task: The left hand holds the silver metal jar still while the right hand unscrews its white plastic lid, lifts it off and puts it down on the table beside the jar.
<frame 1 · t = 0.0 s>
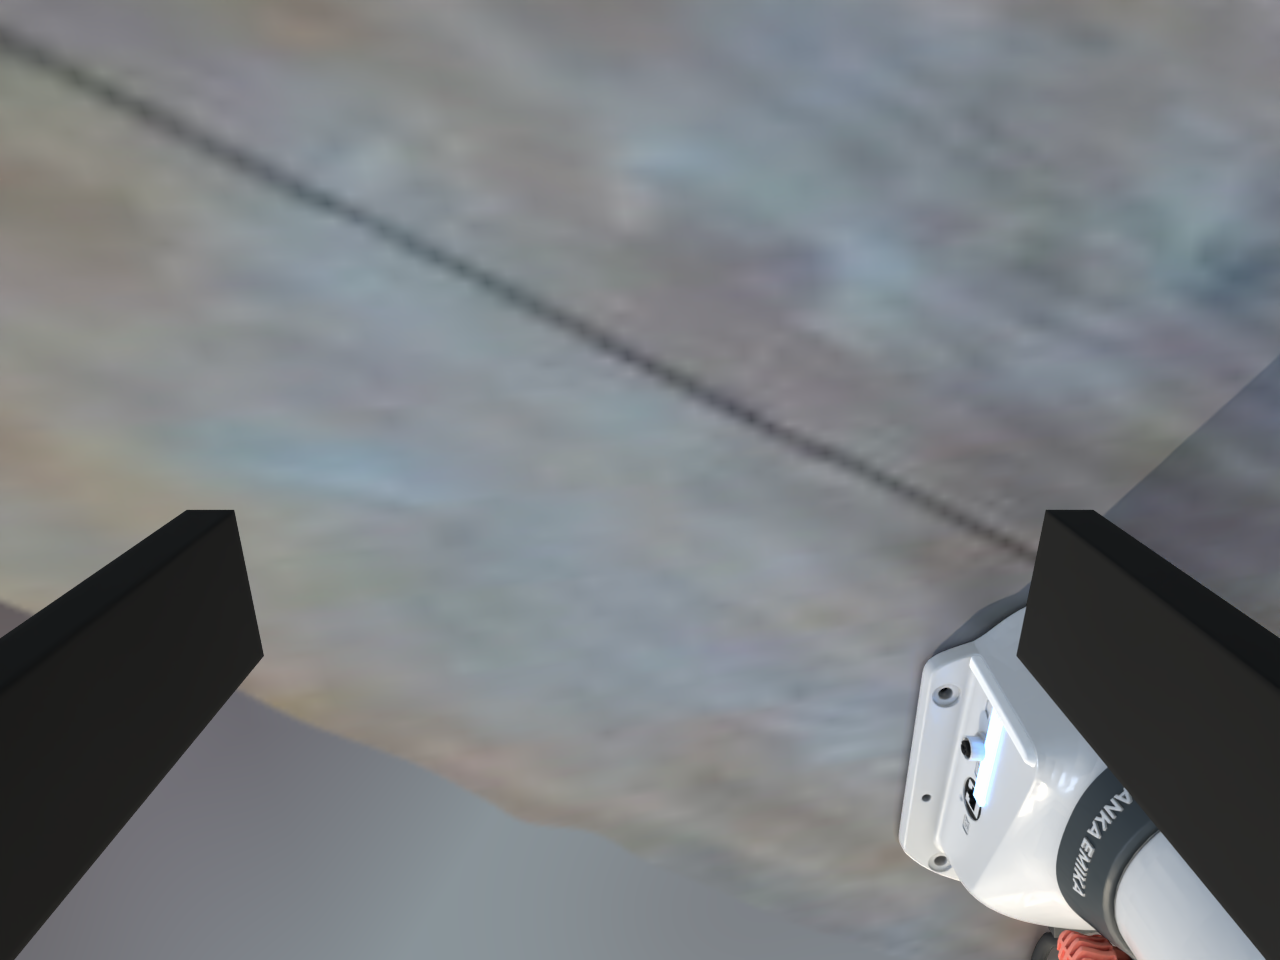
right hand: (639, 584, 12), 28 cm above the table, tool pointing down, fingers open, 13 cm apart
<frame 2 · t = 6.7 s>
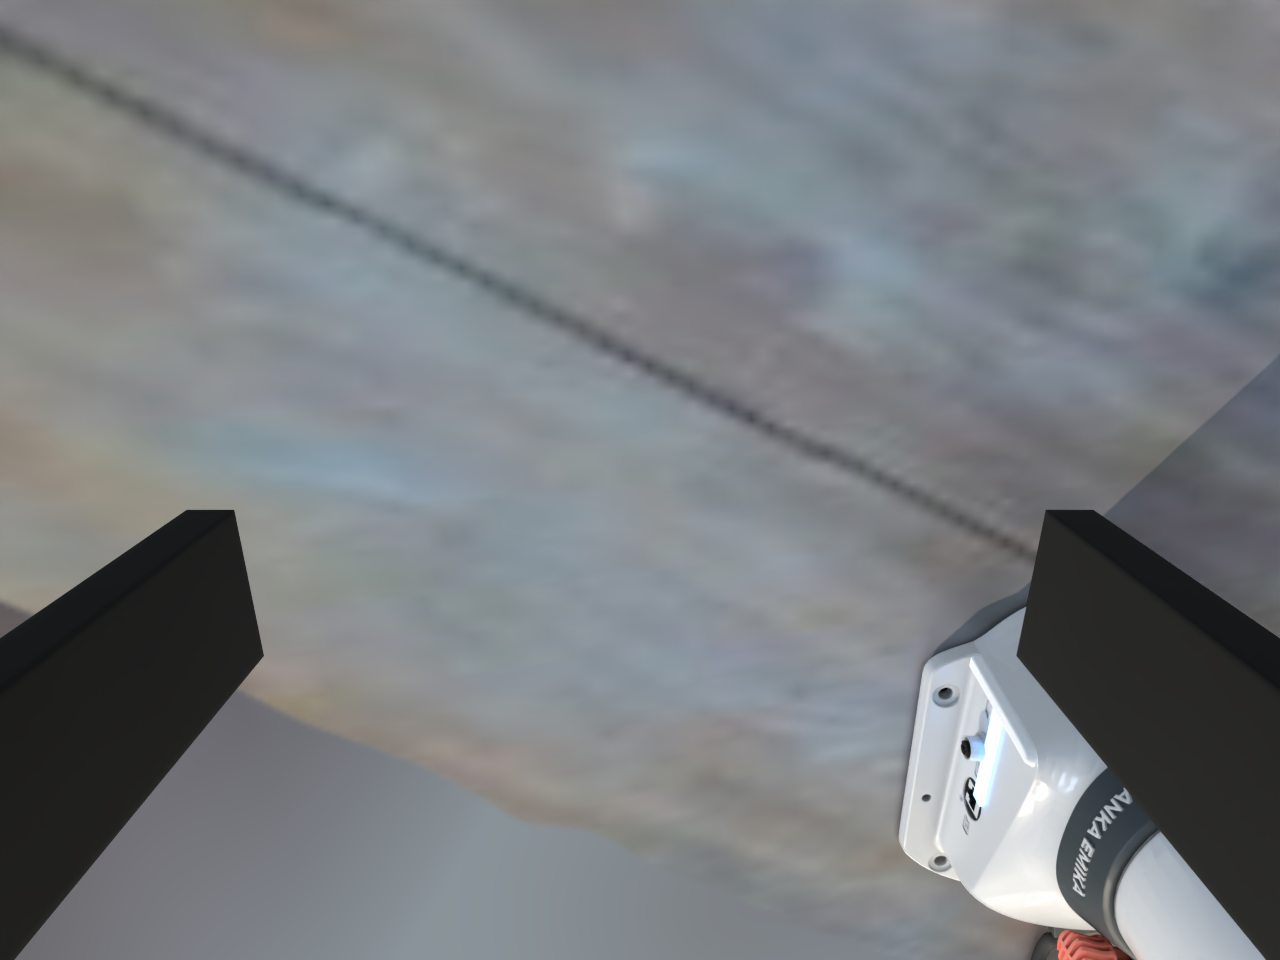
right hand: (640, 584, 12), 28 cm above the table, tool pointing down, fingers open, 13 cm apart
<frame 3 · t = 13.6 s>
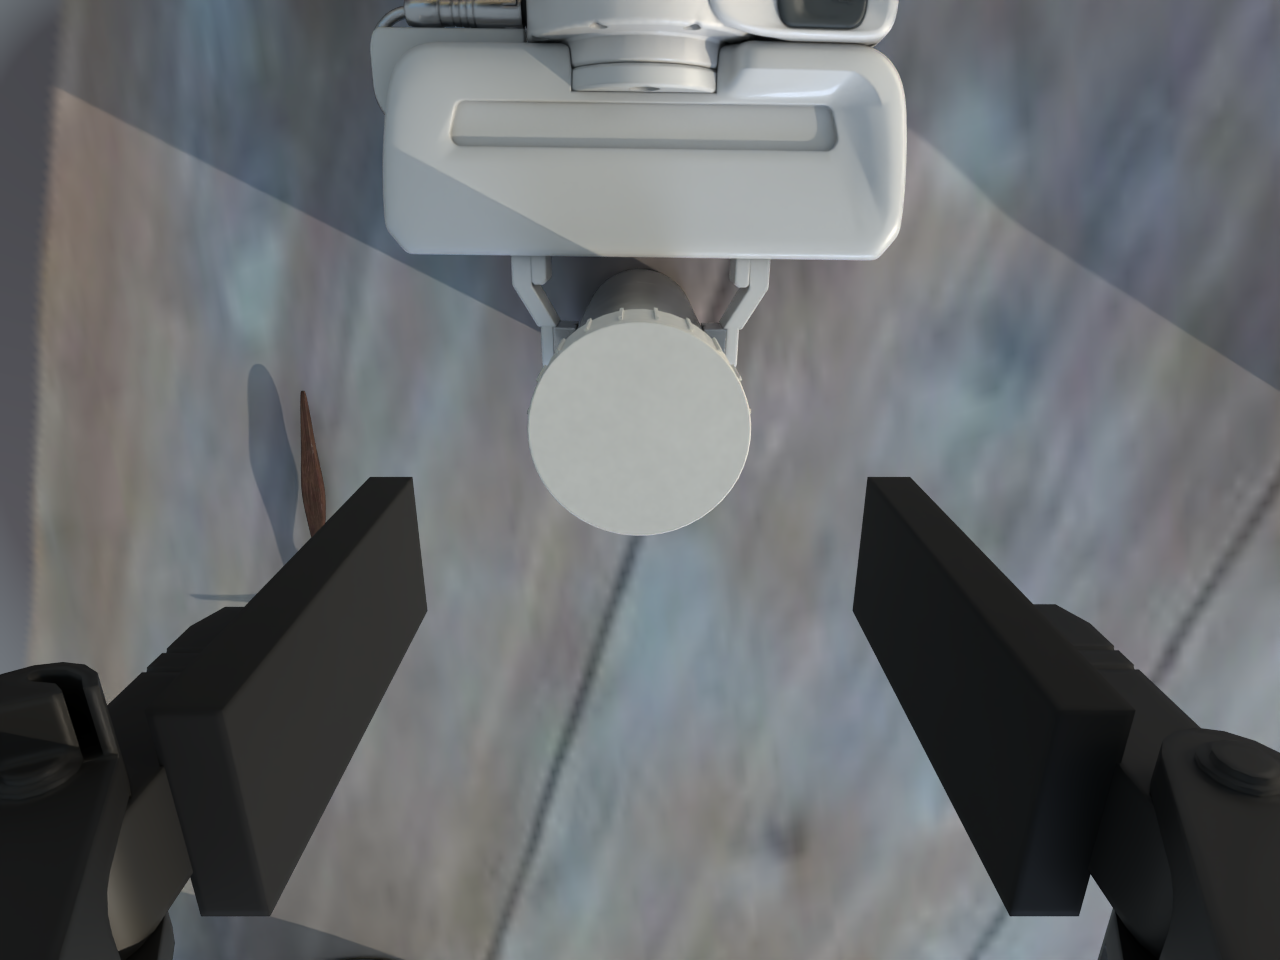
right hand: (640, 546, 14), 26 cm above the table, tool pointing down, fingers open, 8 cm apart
left hand: (640, 366, 33), fingers closed on jar, 5 cm apart
fork: (322, 527, 42), on the table
jar: (639, 323, 38), on the table, touching left hand
lid: (639, 430, 21), point 19 cm above the table, screwed on, not yet turned
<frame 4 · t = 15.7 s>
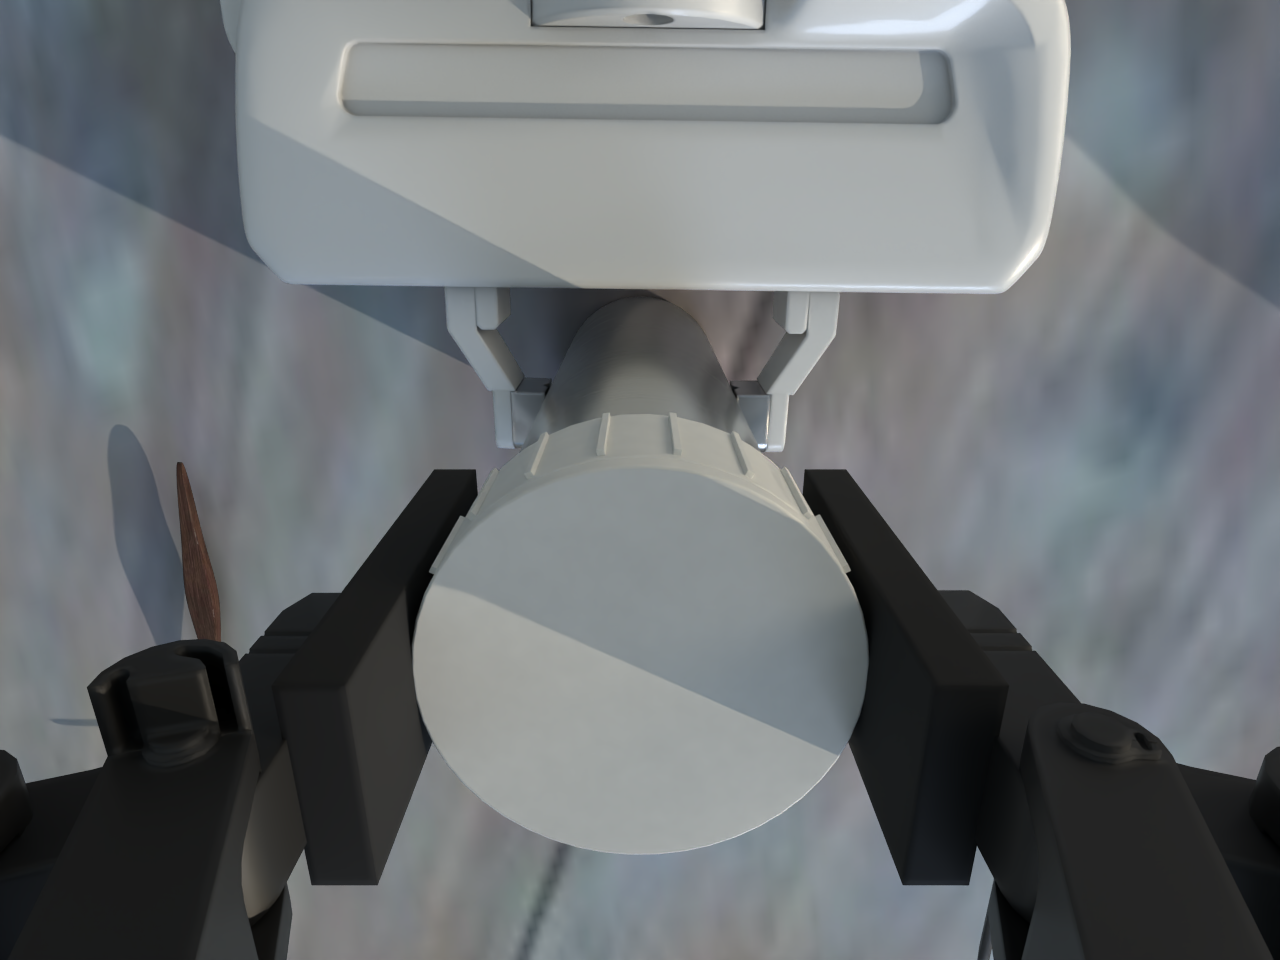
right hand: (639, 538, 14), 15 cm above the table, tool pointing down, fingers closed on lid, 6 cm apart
left hand: (641, 445, 22), fingers closed on jar, 5 cm apart
fork: (219, 635, 32), on the table
jar: (640, 371, 28), on the table, touching left hand
lid: (640, 666, 10), point 19 cm above the table, screwed on, not yet turned, touching right hand
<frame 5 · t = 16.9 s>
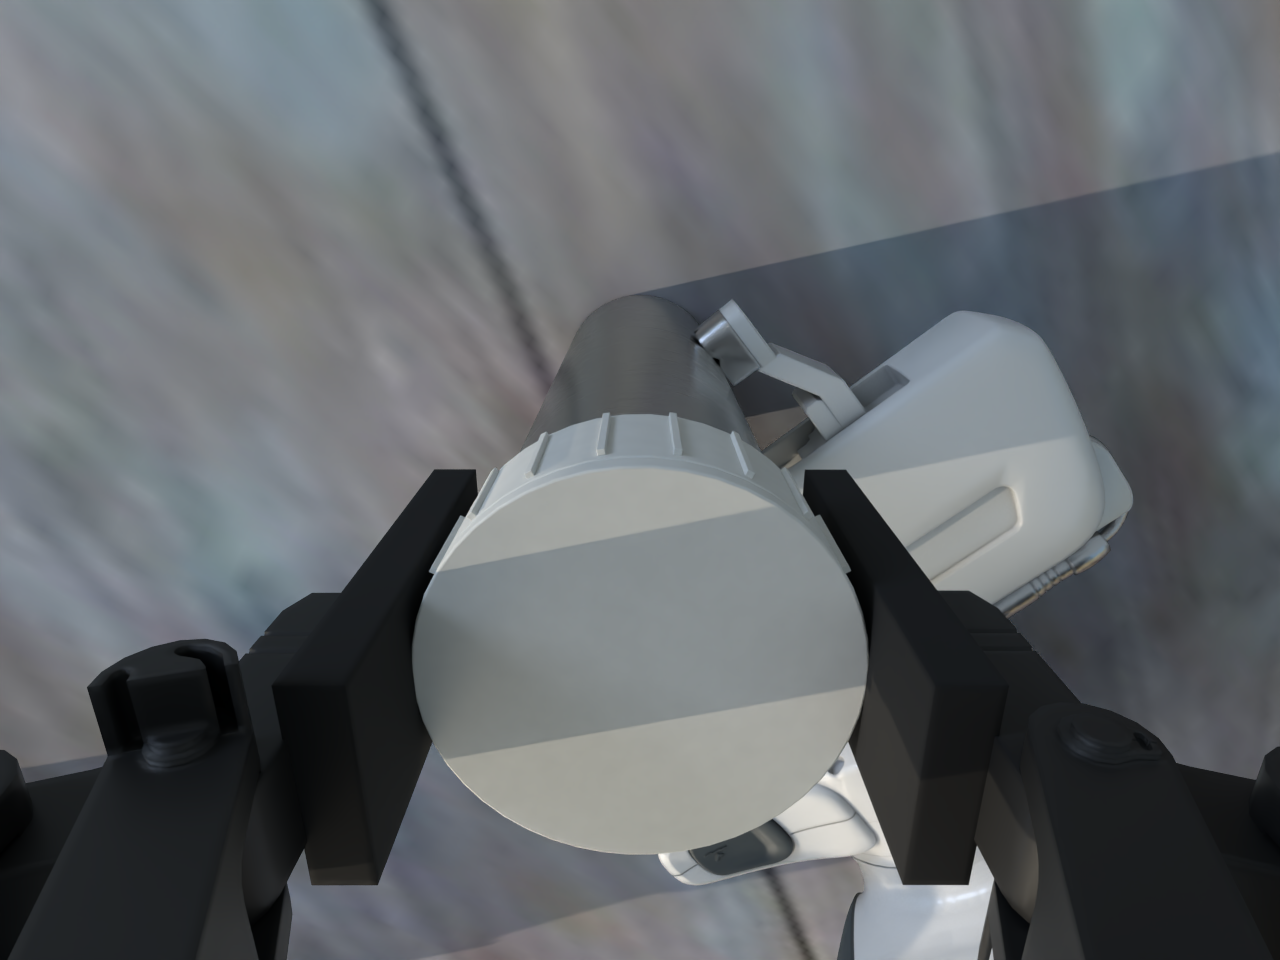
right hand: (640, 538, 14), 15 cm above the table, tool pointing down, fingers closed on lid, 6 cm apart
jar: (640, 368, 28), on the table, touching left hand
lid: (640, 666, 10), point 19 cm above the table, off its thread, touching right hand
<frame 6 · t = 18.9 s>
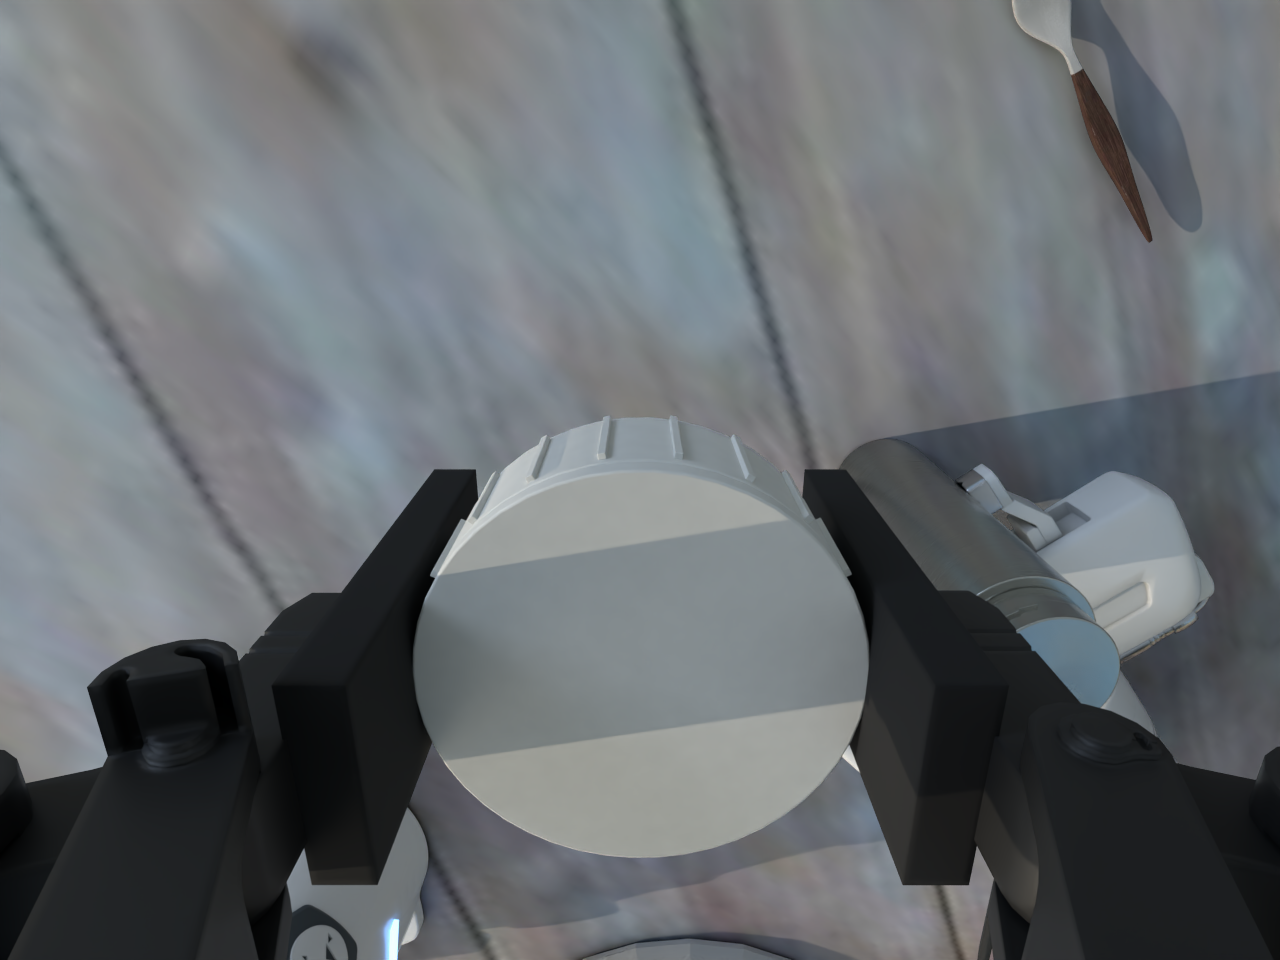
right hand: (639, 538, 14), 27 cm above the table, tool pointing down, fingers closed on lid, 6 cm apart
fork: (1078, 96, 36), on the table
jar: (882, 484, 43), on the table, touching left hand
lid: (641, 669, 10), point 31 cm above the table, off its thread, touching right hand
when the right hand's fingers open (0 cm above the table, at t = 23.7 s): lid drops 2 cm, point 2 cm above the table.
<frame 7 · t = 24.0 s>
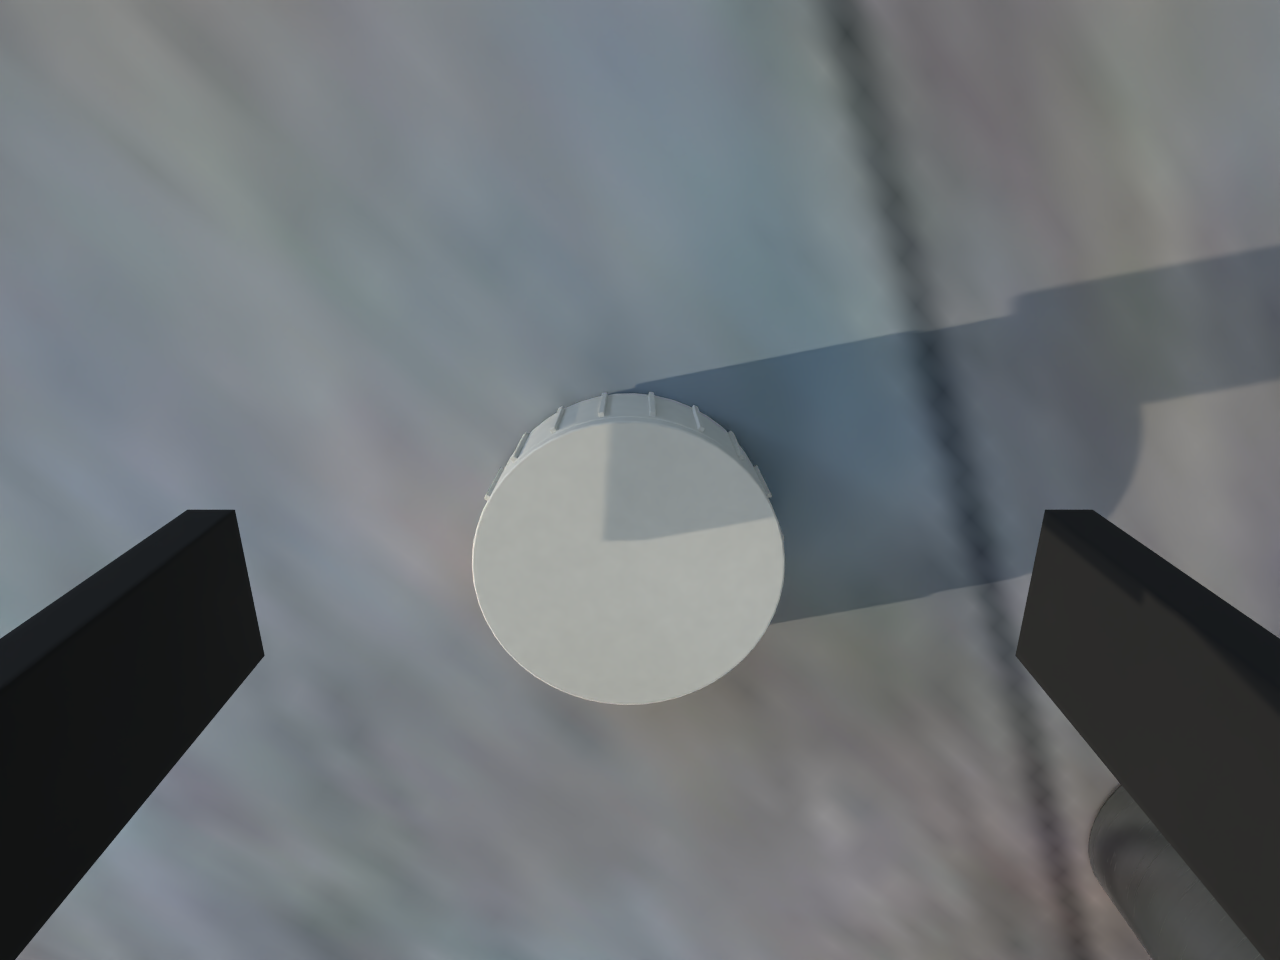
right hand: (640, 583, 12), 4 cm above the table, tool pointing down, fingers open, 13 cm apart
jar: (1192, 831, 20), on the table, touching left hand
lid: (629, 565, 15), point 2 cm above the table, off its thread
when the left hand's fingers open (6 cm above the table, at t = 24.4 s): jar stays where it is, on the table.
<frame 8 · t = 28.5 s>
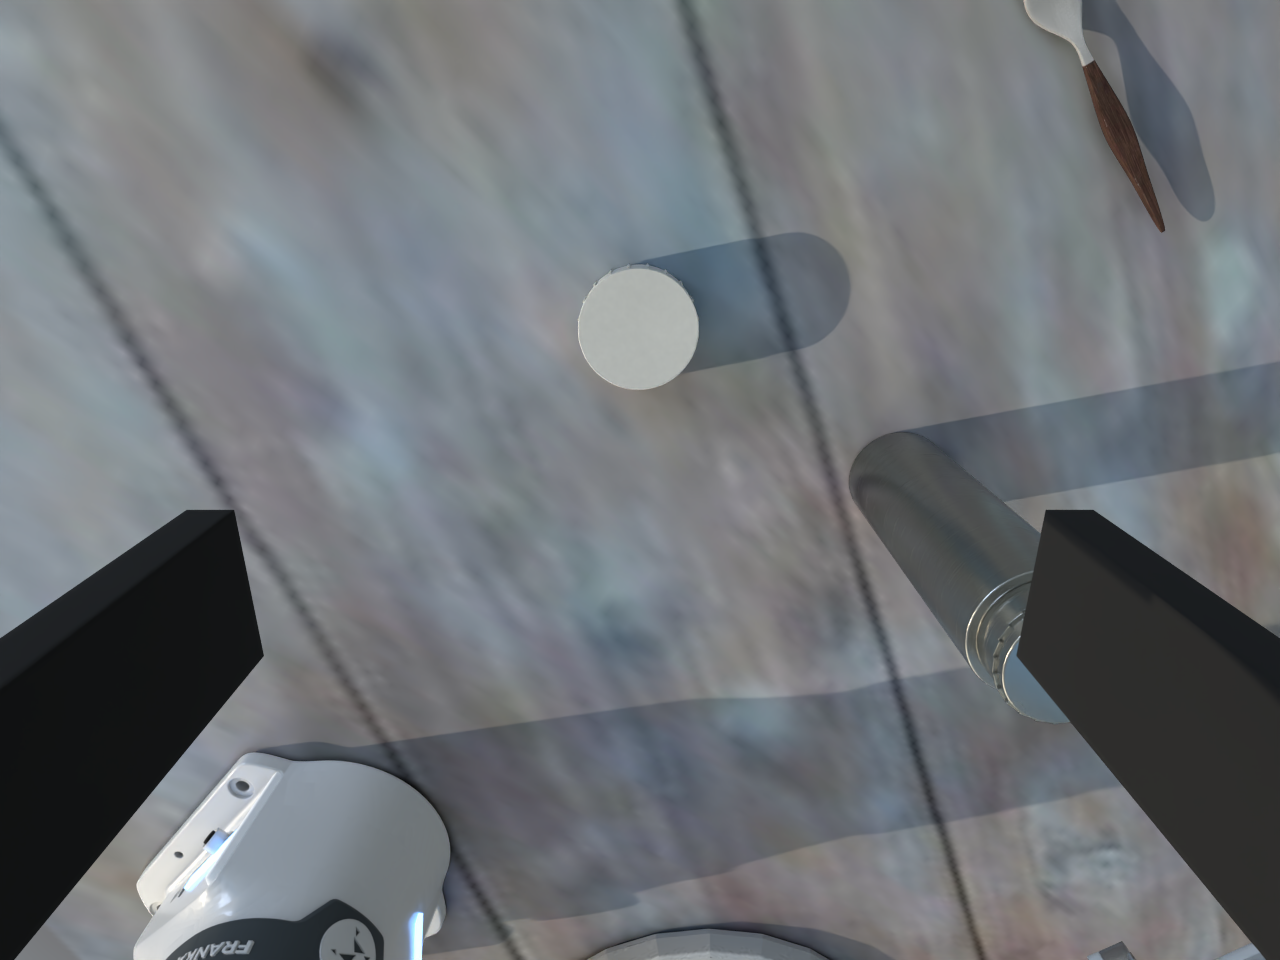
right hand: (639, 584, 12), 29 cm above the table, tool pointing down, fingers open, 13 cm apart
fork: (1090, 87, 36), on the table
jar: (896, 477, 43), on the table
lid: (638, 329, 38), point 2 cm above the table, off its thread
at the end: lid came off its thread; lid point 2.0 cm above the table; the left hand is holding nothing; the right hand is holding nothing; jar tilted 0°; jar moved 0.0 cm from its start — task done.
